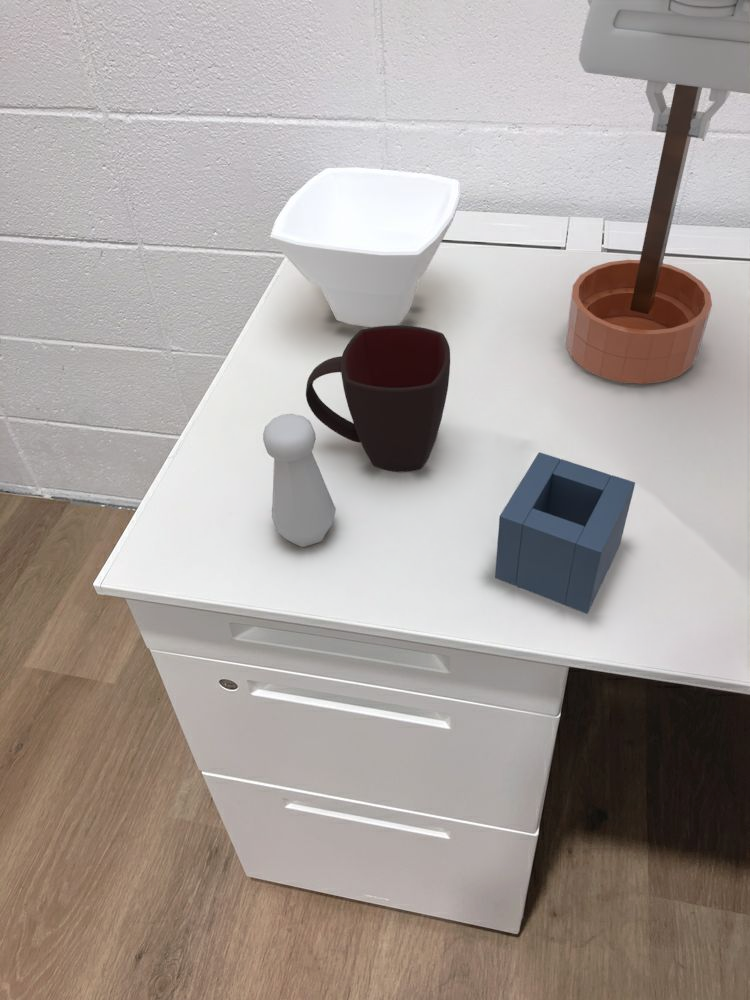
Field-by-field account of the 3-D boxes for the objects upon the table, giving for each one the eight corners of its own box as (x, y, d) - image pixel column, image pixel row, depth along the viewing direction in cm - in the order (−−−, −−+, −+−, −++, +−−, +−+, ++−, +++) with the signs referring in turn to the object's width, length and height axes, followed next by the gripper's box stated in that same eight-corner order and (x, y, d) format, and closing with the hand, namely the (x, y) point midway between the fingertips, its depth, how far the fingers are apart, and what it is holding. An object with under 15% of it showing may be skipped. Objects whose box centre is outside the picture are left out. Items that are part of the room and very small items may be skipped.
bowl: (429, 370, 91) (428, 258, 81) (273, 345, 96) (254, 237, 86) (470, 283, 103) (473, 177, 92) (330, 265, 108) (318, 162, 98)
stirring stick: (653, 305, 89) (705, 74, 72) (647, 314, 88) (699, 82, 70) (635, 301, 90) (682, 71, 72) (629, 310, 89) (676, 79, 71)
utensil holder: (619, 545, 71) (635, 482, 66) (587, 614, 67) (601, 552, 61) (531, 514, 75) (538, 451, 69) (494, 577, 70) (499, 516, 64)
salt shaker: (346, 515, 76) (333, 409, 67) (324, 560, 72) (307, 455, 63) (290, 502, 78) (269, 398, 68) (265, 546, 74) (240, 441, 64)
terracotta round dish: (710, 330, 93) (726, 276, 88) (676, 402, 84) (690, 347, 79) (590, 301, 98) (598, 249, 93) (546, 366, 90) (552, 313, 85)
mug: (444, 490, 77) (444, 393, 69) (304, 480, 80) (287, 384, 71) (453, 423, 84) (455, 326, 75) (325, 415, 86) (312, 320, 78)
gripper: (579, -40, 67) (561, 129, 77) (844, -20, 59) (786, 164, 69) (604, -59, 71) (583, 104, 81) (857, -43, 63) (800, 136, 73)
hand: (679, 132), depth 75 cm, fingers closed on stirring stick, 2 cm apart
